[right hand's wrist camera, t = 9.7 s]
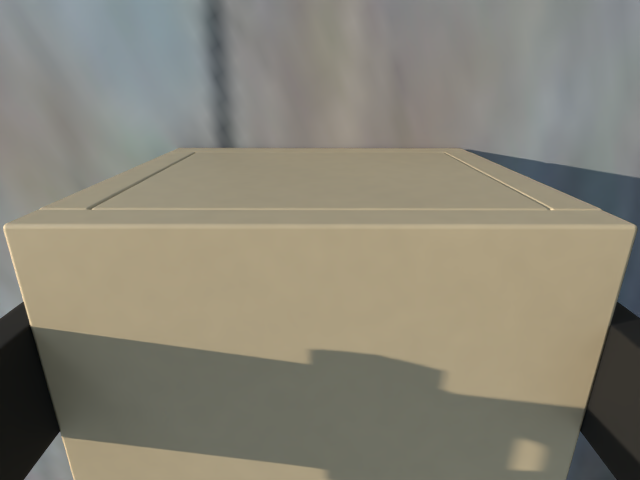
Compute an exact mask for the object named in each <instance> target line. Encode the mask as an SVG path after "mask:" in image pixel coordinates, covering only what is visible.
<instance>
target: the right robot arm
mask: <svg viewBox="0 0 640 480" xmlns="http://www.w3.org/2000/svg"><path fill="white" fill-rule="evenodd" d="M580 431H581V432H582V434H583V435H584V436H585V438H586V439H587V440H588V442H589V443H590V444H591V446H592V447H593V448H594V450H595V451H596V452H597V454H598V455H599V456H600V458H601V459H602V460H603V462H604V463H605V465H606V466H607V467H608V469H609V470H610V471H611V473H612V474H613V475H614V477H615V478H616V479H617V480H640V318H639V317H637V316H636V315H635V314H633V313H632V312H631V311H629V310H628V309H626V308H625V307H624V306H622V305H621V304H620V303H618V302H617V303H616V307H615V310H614V314H613V317H612V321H611V324H610V328H609V331H608V335H607V338H606V342H605V345H604V349H603V352H602V356H601V359H600V363H599V366H598V370H597V373H596V377H595V380H594V384H593V387H592V391H591V394H590V398H589V401H588V405H587V408H586V412H585V415H584V419H583V422H582V426H581V429H580ZM59 432H60V429H59V425H58V422H57V418H56V414H55V411H54V407H53V404H52V400H51V397H50V393H49V390H48V386H47V382H46V379H45V375H44V372H43V368H42V365H41V361H40V358H39V354H38V350H37V347H36V343H35V340H34V336H33V333H32V329H31V326H30V322H29V318H28V315H27V311H26V308H25V304H24V302H22V303H21V304H20V305H18V306H17V307H15V308H14V309H13V310H11V311H10V312H9V313H7V314H6V315H5V316H3V317H2V318H0V480H24V479H25V477H26V476H27V475H28V473H29V472H30V470H31V469H32V468H33V466H34V465H35V464H36V462H37V461H38V460H39V458H40V457H41V456H42V454H43V453H44V452H45V450H46V449H47V448H48V446H49V445H50V444H51V442H52V441H53V440H54V438H55V437H56V436H57V434H58V433H59Z"/></svg>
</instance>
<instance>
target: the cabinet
mask: <svg viewBox="0 0 640 480" xmlns="http://www.w3.org/2000/svg"><path fill="white" fill-rule="evenodd" d="M3 230H4V233H5V237H6V240H7V244H8V247H9V251H10V255H11V258H12V262H13V265H14V269H15V272H16V276H17V279H18V283H19V287H20V290H21V294H22V297H23V301H24V304H25V308H26V311H27V315H28V318H29V322H30V326H31V329H32V333H33V336H34V340H35V343H36V347H37V350H38V354H39V358H40V361H41V365H42V368H43V372H44V375H45V379H46V382H47V386H48V390H49V393H50V397H51V400H52V404H53V407H54V411H55V414H56V418H57V422H58V425H59V429H60V432H61V436H62V439H63V443H64V446H65V450H66V454H67V457H68V461H69V464H70V468H71V471H72V475H73V478H74V480H566V478H567V475H568V471H569V468H570V464H571V461H572V457H573V454H574V450H575V447H576V443H577V440H578V436H579V433H580V429H581V426H582V422H583V419H584V415H585V412H586V408H587V405H588V401H589V398H590V394H591V391H592V387H593V384H594V380H595V377H596V373H597V370H598V366H599V363H600V359H601V356H602V352H603V349H604V345H605V342H606V338H607V335H608V331H609V328H610V324H611V321H612V317H613V314H614V310H615V307H616V303H617V300H618V296H619V292H620V289H621V285H622V282H623V278H624V275H625V271H626V268H627V264H628V261H629V257H630V254H631V250H632V247H633V243H634V240H635V236H636V233H637V226H636V225H635V224H632V223H630V222H628V221H625V220H623V219H621V218H619V217H616V216H614V215H612V214H609V213H607V212H605V211H603V210H602V209H600V208H598V207H595V206H593V205H591V204H589V203H586V202H584V201H582V200H579V199H577V198H575V197H572V196H570V195H568V194H566V193H563V192H561V191H559V190H556V189H554V188H552V187H549V186H547V185H545V184H543V183H540V182H538V181H536V180H533V179H531V178H529V177H526V176H524V175H522V174H519V173H517V172H515V171H513V170H510V169H508V168H506V167H503V166H501V165H499V164H496V163H494V162H492V161H490V160H487V159H485V158H483V157H480V156H478V155H476V154H473V153H471V152H468V151H466V150H463V149H461V148H178V149H176V150H173V151H171V152H169V153H166V154H164V155H162V156H159V157H157V158H155V159H153V160H150V161H148V162H146V163H143V164H141V165H139V166H137V167H134V168H132V169H130V170H127V171H125V172H123V173H120V174H118V175H116V176H114V177H111V178H109V179H107V180H104V181H102V182H100V183H98V184H95V185H93V186H91V187H88V188H86V189H84V190H82V191H79V192H77V193H75V194H72V195H70V196H68V197H65V198H63V199H61V200H59V201H56V202H54V203H52V204H49V205H47V206H45V207H43V208H40V210H37V211H34V212H32V213H30V214H27V215H25V216H23V217H21V218H18V219H16V220H14V221H11V222H9V223H7V224H5V225H4V228H3Z"/></svg>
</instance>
